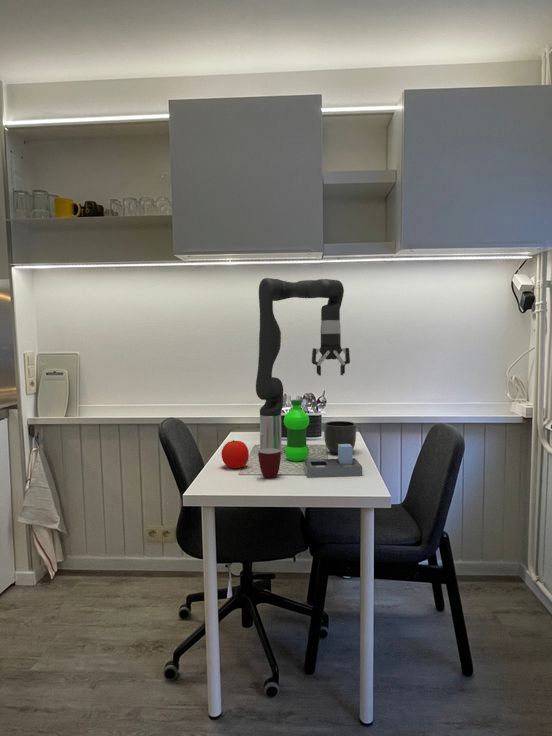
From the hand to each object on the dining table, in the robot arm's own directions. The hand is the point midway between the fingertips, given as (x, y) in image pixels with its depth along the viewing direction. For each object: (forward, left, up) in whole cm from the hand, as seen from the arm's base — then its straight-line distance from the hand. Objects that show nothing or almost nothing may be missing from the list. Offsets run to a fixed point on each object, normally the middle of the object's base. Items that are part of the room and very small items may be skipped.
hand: (330, 375), depth 189 cm
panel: (-1, -7, -36) cm, 37 cm away
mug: (-24, -9, -36) cm, 44 cm away
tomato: (-37, +6, -36) cm, 52 cm away
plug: (+4, -7, -36) cm, 36 cm away
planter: (+8, +24, -36) cm, 44 cm away
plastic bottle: (-12, +13, -36) cm, 40 cm away
